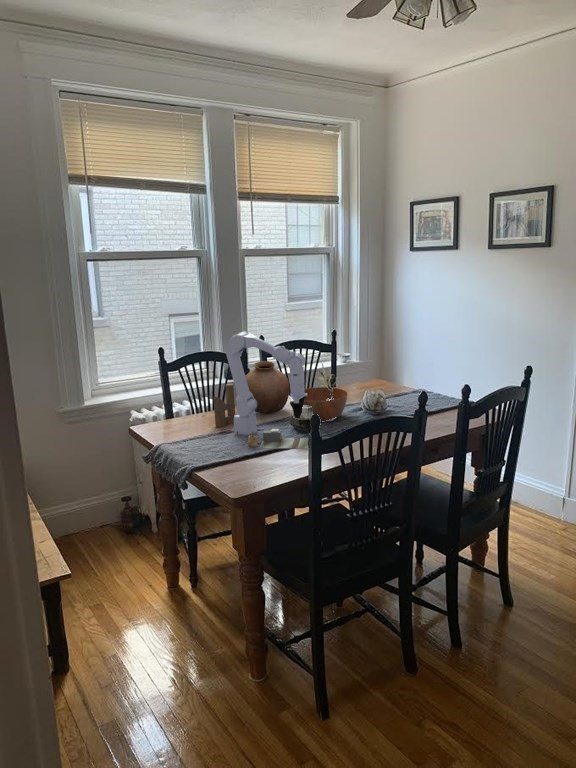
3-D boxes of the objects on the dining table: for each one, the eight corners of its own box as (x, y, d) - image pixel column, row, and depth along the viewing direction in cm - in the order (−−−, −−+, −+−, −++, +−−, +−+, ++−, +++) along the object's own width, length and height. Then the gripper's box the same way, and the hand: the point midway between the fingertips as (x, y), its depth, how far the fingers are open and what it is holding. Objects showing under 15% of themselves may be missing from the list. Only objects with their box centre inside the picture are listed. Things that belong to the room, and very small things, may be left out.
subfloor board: (259, 451, 225) (259, 448, 225) (264, 440, 237) (263, 438, 236) (309, 451, 223) (309, 448, 222) (312, 440, 234) (311, 438, 234)
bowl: (351, 410, 274) (350, 387, 271) (344, 427, 250) (344, 401, 247) (300, 409, 279) (299, 386, 277) (289, 425, 256) (288, 400, 253)
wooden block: (215, 426, 258) (212, 387, 254) (232, 420, 266) (229, 382, 262) (220, 427, 256) (218, 389, 252) (237, 421, 264) (235, 383, 260)
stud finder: (263, 442, 231) (262, 431, 230) (264, 438, 236) (264, 428, 234) (280, 442, 231) (279, 431, 229) (281, 438, 235) (281, 428, 234)
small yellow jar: (248, 450, 227) (247, 433, 225) (249, 446, 230) (248, 430, 228) (257, 450, 226) (256, 433, 225) (258, 446, 230) (257, 430, 228)
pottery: (267, 403, 292) (264, 355, 286) (300, 411, 276) (298, 360, 270) (233, 413, 276) (230, 363, 270) (266, 422, 260) (263, 369, 254)
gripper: (305, 387, 226) (306, 420, 229) (308, 379, 240) (309, 410, 243) (288, 388, 227) (289, 420, 230) (291, 379, 241) (292, 410, 244)
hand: (298, 415), depth 237 cm, fingers open, 7 cm apart
